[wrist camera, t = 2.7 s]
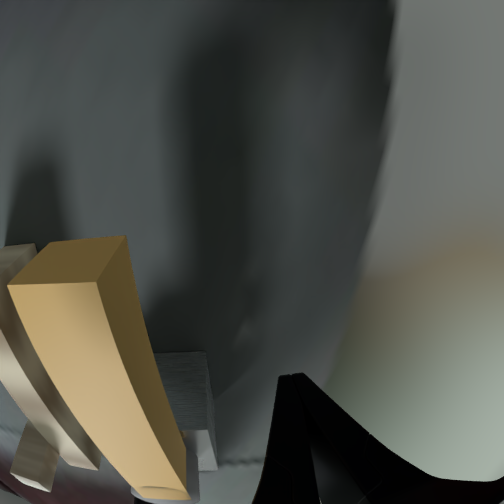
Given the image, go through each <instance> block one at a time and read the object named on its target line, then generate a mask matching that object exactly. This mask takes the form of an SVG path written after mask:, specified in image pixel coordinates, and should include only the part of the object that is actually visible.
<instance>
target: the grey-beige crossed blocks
mask: <svg viewBox="0 0 504 504" xmlns="http://www.w3.org/2000/svg"><path fill="white" fill-rule="evenodd" d="M36 255H37V250H36V246H35V243H31V244H22V245H13V246H4V247H3V248H2V249H0V380H1V382H2V383H3V385H4V386H5V388H6V389H7V391H8V392H9V393H10V395H11V396H12V398H13V399H14V400H15V402H16V403H17V405H18V406H19V407H20V409H21V410H22V411H23V413H24V414H25V415H26V416H27V418H28V421H27V423H26V426H25V428H24V431H23V434H22V437H21V439H20V442H19V445H18V448H17V451H16V454H15V457H14V460H13V464H12V467H11V470H10V473H11V474H12V475H14V476H15V477H16V478H17V479H18V480H20V481H21V482H22V483H24V484H27V485H29V486H32V487H35V488H38V489H41V490H44V491H47V492H51V489H52V484H53V479H54V475H55V471H56V467H57V463H58V459H59V455H60V456H61V457H62V458H63V459H64V460H65V461H66V462H67V463H68V464H69V465H72V466H77V467H82V468H87V469H93V470H99V467H100V461H101V455H102V452H101V451H100V450H99V448H98V447H97V446H96V444H95V443H94V442H93V441H92V439H91V438H90V437H89V435H88V434H87V433H86V431H85V430H84V429H83V427H82V426H81V425H80V423H79V422H78V420H77V419H76V417H75V416H74V415H73V413H72V412H71V410H70V409H69V407H68V406H67V404H66V403H65V401H64V399H63V398H62V396H61V395H60V393H59V391H58V390H57V388H56V387H55V385H54V383H53V382H52V380H51V378H50V376H49V375H48V373H47V371H46V369H45V368H44V366H43V364H42V362H41V360H40V358H39V356H38V355H37V353H36V351H35V349H34V347H33V345H32V343H31V341H30V339H29V336H28V334H27V332H26V330H25V328H24V326H23V323H22V321H21V319H20V317H19V314H18V312H17V310H16V307H15V305H14V302H13V300H12V297H11V295H10V292H9V289H8V287H7V284H8V283H9V282H10V281H11V280H12V279H13V278H14V277H15V276H16V275H17V274H18V273H19V272H20V271H21V270H22V269H23V268H24V267H25V266H26V265H27V264H28V263H29V262H30V261H31V260H32V259H33V258H34V257H35V256H36Z"/></svg>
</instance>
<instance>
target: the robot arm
mask: <svg viewBox="0 0 504 504" xmlns="http://www.w3.org/2000/svg"><path fill="white" fill-rule="evenodd" d="M319 497H320V498H319ZM320 500H321V503H322V504H504V476H503V477H502V478H500V479H498V480H495V481H488V482H481V481H462V480H450V479H441V478H437V477H434V476H431V475H429V474H427V473H425V472H424V471H422V470H420V469H419V468H417V467H415V466H414V465H412V464H411V463H409V462H407V461H406V460H404V459H403V458H401V457H400V456H398V455H397V454H395V453H394V452H392V451H391V450H389V449H388V448H387V447H386V446H384V445H383V444H382V443H381V442H379V441H378V440H377V439H376V438H375V437H374V436H372V435H371V434H370V435H369V432H368V431H367V430H365V429H364V428H363V427H362V426H361V425H360V424H359V423H357V422H356V421H355V420H354V419H353V418H352V417H351V416H350V415H349V414H348V413H346V412H345V411H344V410H343V409H342V408H341V407H340V406H339V405H338V404H336V403H335V402H334V401H333V400H332V399H331V398H330V397H329V396H328V395H327V394H326V393H325V392H323V391H322V390H321V389H320V388H319V387H318V386H317V385H316V384H315V383H314V382H313V381H312V380H311V379H310V378H309V377H308V376H306V375H305V374H304V373H295V374H292V375H290V374H288V375H280V376H279V377H278V383H277V390H276V396H275V403H274V409H273V415H272V421H271V427H270V433H269V439H268V445H267V450H266V457H265V461H264V466H263V470H262V475H261V479H260V482H259V485H258V488H257V491H256V494H255V496H254V499H253V501H252V504H320ZM134 504H154V503H150V502H147V501H144V500H141V499H139V498H137V497H135V498H134Z"/></svg>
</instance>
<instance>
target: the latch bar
mask: <svg viewBox="0 0 504 504" xmlns="http://www.w3.org/2000/svg"><path fill="white" fill-rule="evenodd" d="M7 287H8V289H9V292H10V295H11V297H12V300H13V302H14V305H15V307H16V310H17V312H18V314H19V317H20V319H21V321H22V323H23V326H24V328H25V330H26V332H27V334H28V336H29V339H30V341H31V343H32V345H33V347H34V349H35V351H36V353H37V355H38V356H39V358H40V360H41V362H42V364H43V366H44V368H45V369H46V371H47V373H48V375H49V376H50V378H51V380H52V382H53V383H54V385H55V387H56V388H57V390H58V391H59V393H60V395H61V396H62V398H63V399H64V401H65V403H66V404H67V406H68V407H69V409H70V410H71V412H72V413H73V415H74V416H75V417H76V419H77V420H78V422H79V423H80V425H81V426H82V427H83V429H84V430H85V431H86V433H87V434H88V435H89V437H90V438H91V439H92V441H93V442H94V443H95V444H96V446H97V447H98V448H99V450H100V451H101V452H102V453H103V454H104V456H105V457H106V458H107V459H108V460H109V462H110V463H111V464H112V465H113V466H114V467H115V469H116V470H117V471H118V472H119V473H120V474H121V475H122V476H123V477H124V479H125V480H126V481H127V482H128V483H129V484H130V485H131V493H132V494H133V495H134V496H135V497H137V498H139V499H141V500H144V501H147V502H150V503H154V504H195V503H197V502H199V500H200V492H199V470H198V457H197V455H196V454H195V453H194V452H192V451H191V450H189V449H187V448H186V447H185V445H184V442H183V440H182V437H181V434H180V432H179V429H178V427H177V424H176V421H175V419H174V416H173V413H172V410H171V408H170V405H169V402H168V399H167V396H166V393H165V390H164V387H163V384H162V381H161V378H160V375H159V371H158V368H157V365H156V362H155V358H154V355H153V351H152V348H151V344H150V341H149V337H148V333H147V330H146V326H145V322H144V318H143V314H142V310H141V306H140V302H139V297H138V293H137V289H136V284H135V279H134V275H133V270H132V265H131V260H130V255H129V249H128V244H127V238H126V235H123V236H111V237H100V238H88V239H78V240H67V241H57V242H50V243H49V244H48V245H47V246H46V247H45V248H43V249H42V250H41V251H40V252H39V253H38V254H37V255H36V256H35V257H34V258H33V259H32V260H31V261H30V262H29V263H28V264H27V265H26V266H25V267H24V268H23V269H22V270H21V271H20V272H19V273H18V274H17V275H16V276H15V277H14V278H13V279H12V280H11V281H10V282H9V283H8V284H7Z"/></svg>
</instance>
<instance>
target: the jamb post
mask: <svg viewBox="0 0 504 504" xmlns="http://www.w3.org/2000/svg"><path fill="white" fill-rule="evenodd" d="M153 355H154V358H155V362H156V365H157V368H158V371H159V375H160V378H161V381H162V384H163V387H164V390H165V393H166V396H167V399H168V402H169V405H170V408H171V410H172V413H173V416H174V419H175V421H176V424H177V427H178V429H179V432H180V434H181V437H182V440H183V442H184V445H185V447H186V448H187V449H189V450H191V451H192V452H194V453H195V454H196V455H197V457H198V470H199V471H209V470H218V461H217V447H216V433H215V417H214V401H213V395H212V389H211V383H210V377H209V371H208V364H207V358H206V351H198V352H174V353H153Z"/></svg>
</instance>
